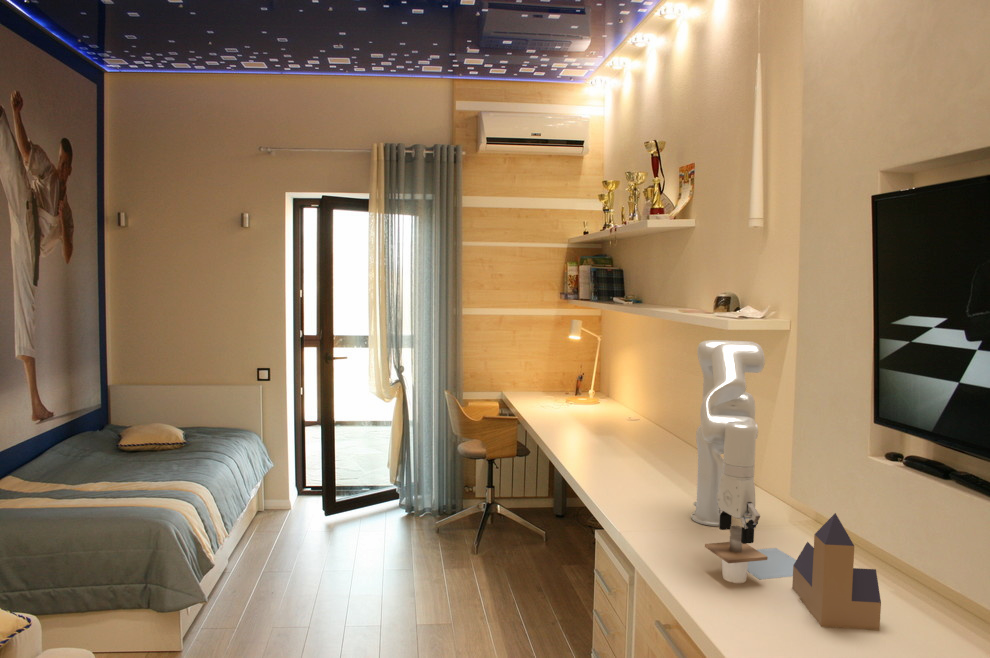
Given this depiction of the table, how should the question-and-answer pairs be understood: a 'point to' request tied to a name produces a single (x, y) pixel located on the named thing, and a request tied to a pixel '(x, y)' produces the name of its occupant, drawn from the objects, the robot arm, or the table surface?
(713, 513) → the robot arm
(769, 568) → the mat
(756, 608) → the table surface
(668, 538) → the table surface
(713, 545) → the lid
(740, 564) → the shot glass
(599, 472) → the table surface
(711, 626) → the table surface
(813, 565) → the toy building blocks
